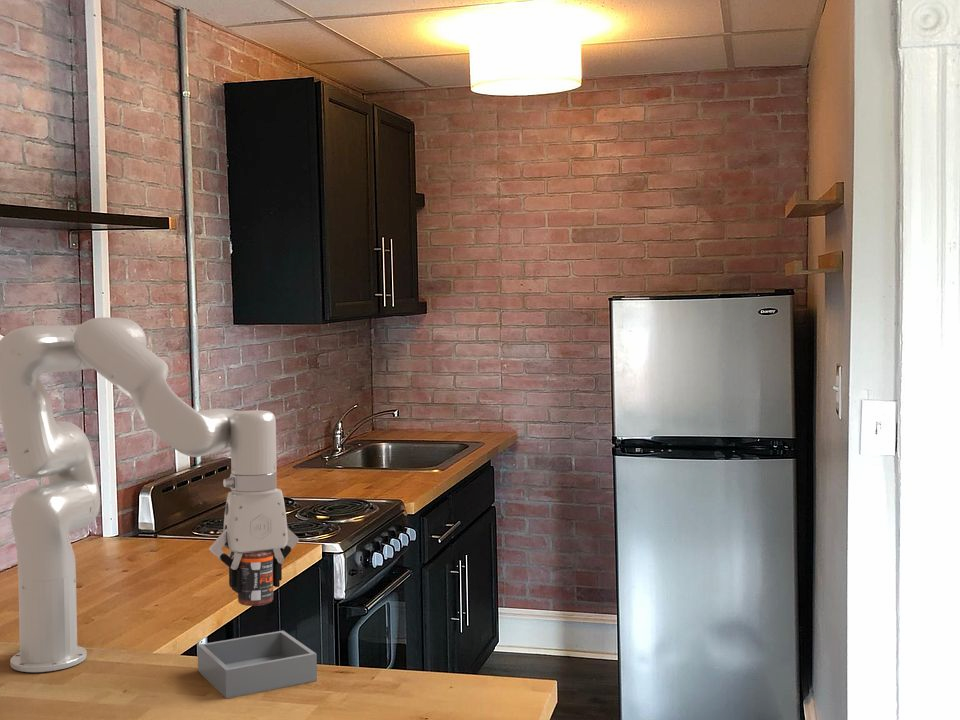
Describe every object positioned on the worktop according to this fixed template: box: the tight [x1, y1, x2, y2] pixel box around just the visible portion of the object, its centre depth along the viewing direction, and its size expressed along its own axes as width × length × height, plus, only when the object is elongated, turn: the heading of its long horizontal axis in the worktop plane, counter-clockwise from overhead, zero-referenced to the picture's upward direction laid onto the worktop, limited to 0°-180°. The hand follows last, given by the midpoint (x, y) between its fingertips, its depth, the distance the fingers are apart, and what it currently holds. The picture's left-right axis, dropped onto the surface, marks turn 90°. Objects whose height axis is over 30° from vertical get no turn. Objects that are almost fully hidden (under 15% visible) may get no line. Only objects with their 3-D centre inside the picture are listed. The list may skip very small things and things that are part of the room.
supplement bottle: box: [237, 550, 274, 607], centre depth 176 cm, size 6×6×11 cm
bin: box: [197, 630, 318, 699], centre depth 177 cm, size 16×16×5 cm
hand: (255, 587), depth 176 cm, fingers closed on supplement bottle, 6 cm apart
